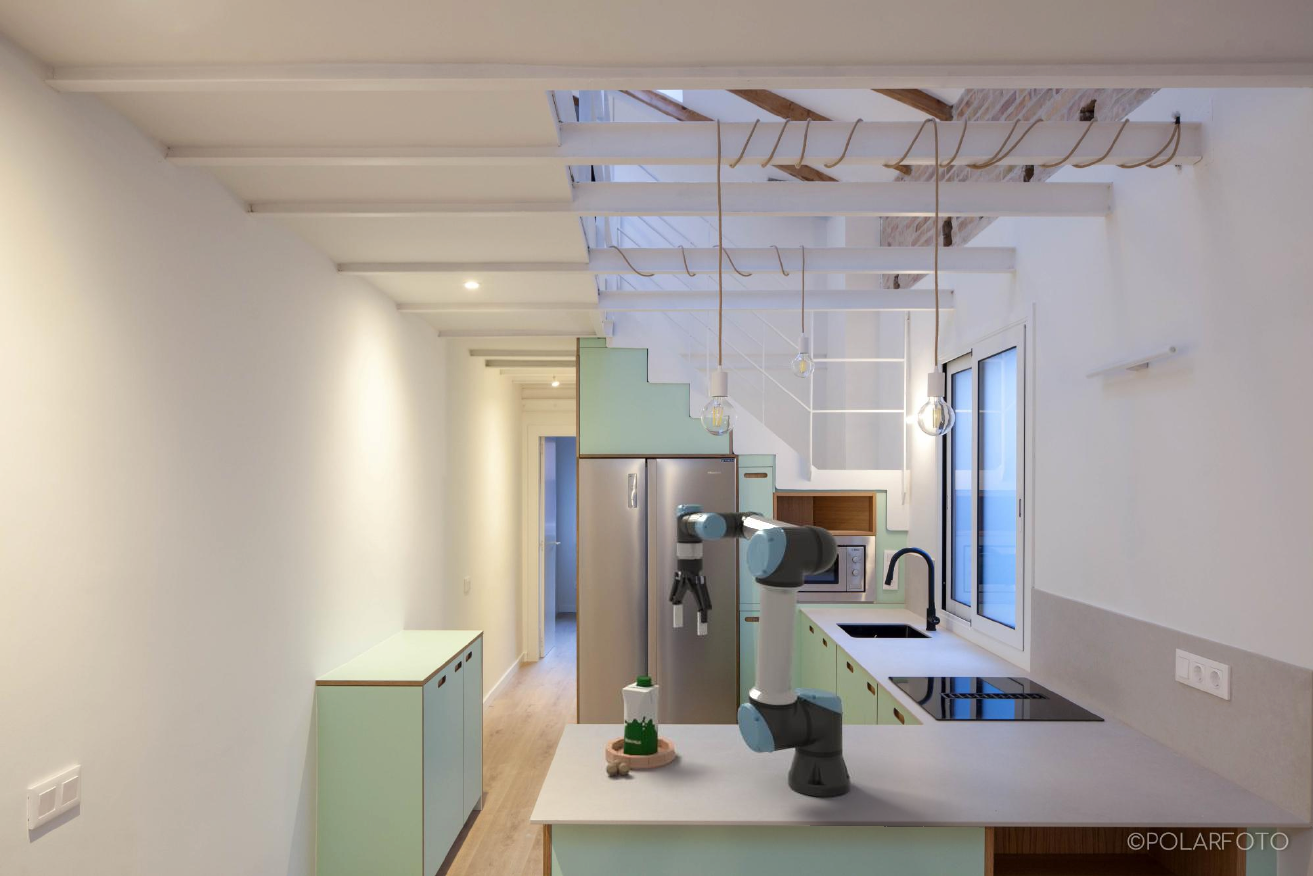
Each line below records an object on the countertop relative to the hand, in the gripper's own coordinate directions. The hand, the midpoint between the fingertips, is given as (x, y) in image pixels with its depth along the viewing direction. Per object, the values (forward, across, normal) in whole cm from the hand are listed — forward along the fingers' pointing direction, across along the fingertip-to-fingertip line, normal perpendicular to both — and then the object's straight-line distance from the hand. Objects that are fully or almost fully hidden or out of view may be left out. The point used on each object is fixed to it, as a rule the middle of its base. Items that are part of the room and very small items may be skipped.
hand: (689, 630), depth 241 cm
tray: (+32, -5, +19) cm, 37 cm away
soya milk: (+31, -5, +19) cm, 37 cm away
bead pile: (+32, -14, +30) cm, 46 cm away
